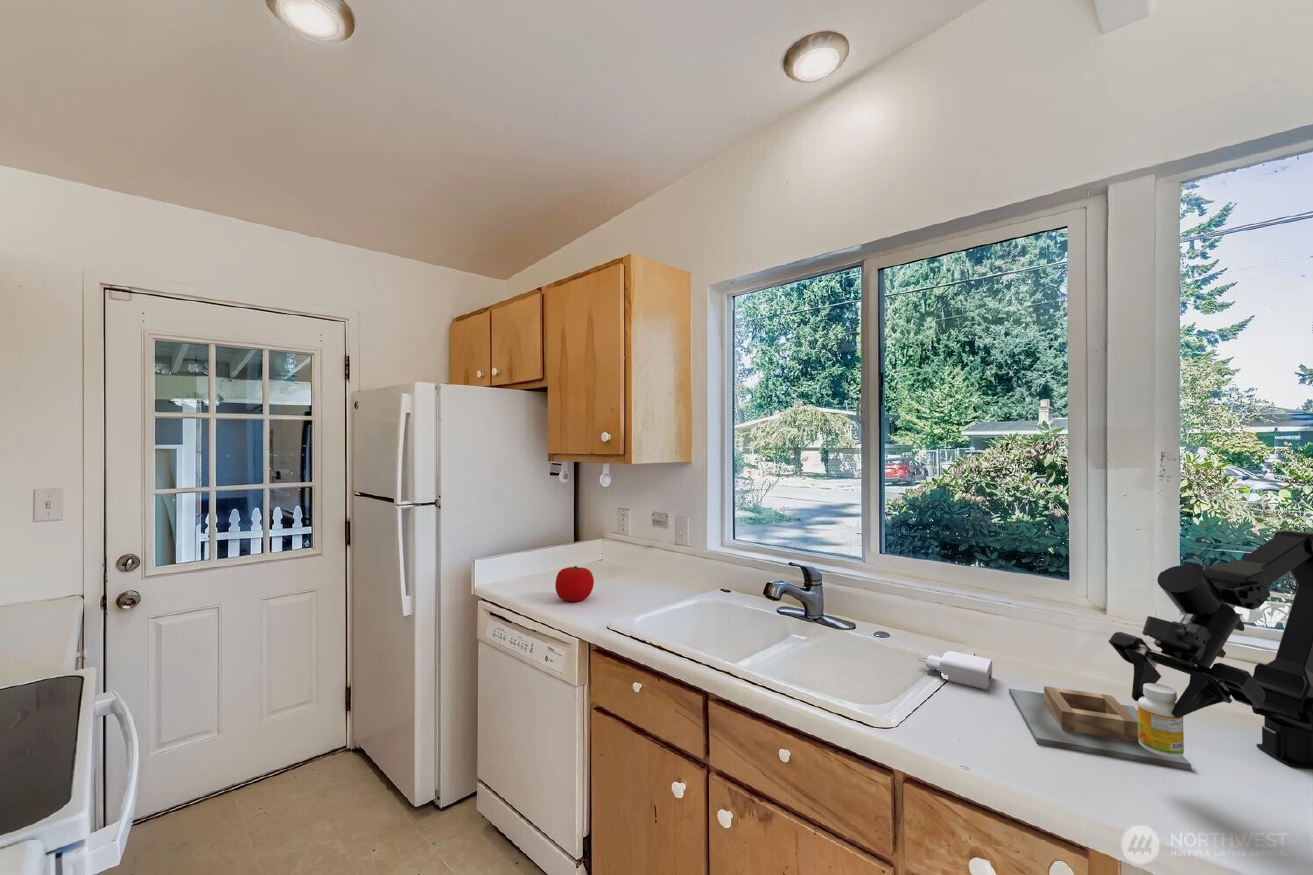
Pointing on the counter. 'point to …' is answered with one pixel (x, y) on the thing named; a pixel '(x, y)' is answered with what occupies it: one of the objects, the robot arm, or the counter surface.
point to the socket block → (1086, 724)
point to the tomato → (574, 583)
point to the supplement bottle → (1160, 721)
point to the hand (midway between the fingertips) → (1153, 707)
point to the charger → (962, 668)
